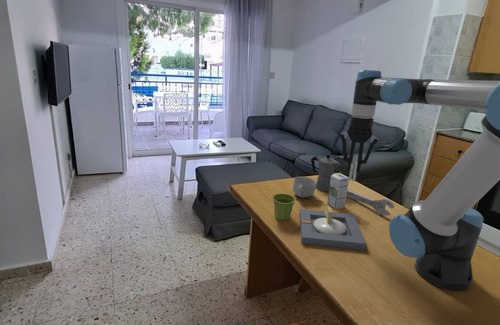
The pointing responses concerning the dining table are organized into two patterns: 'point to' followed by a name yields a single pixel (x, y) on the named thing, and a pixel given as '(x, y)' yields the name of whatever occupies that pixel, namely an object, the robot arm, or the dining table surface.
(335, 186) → the syrup box
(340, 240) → the dial housing
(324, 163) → the coffeepot
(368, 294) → the dining table surface
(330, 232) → the dial
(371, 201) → the wrench
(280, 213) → the plant pot
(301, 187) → the teacup
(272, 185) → the dining table surface
